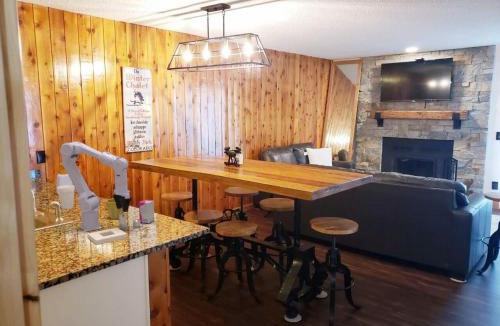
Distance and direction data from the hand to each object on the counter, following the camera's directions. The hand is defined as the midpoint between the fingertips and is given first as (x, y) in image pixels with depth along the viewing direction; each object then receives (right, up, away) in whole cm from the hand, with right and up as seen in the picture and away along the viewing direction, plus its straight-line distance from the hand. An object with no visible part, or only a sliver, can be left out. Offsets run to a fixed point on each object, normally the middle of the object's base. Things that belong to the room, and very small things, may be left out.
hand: (122, 210), depth 189 cm
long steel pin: (0, -10, +1) cm, 10 cm away
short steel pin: (+5, -9, +6) cm, 12 cm away
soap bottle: (-67, +2, +79) cm, 104 cm away
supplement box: (+8, -8, +14) cm, 18 cm away
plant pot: (-11, -7, +22) cm, 26 cm away
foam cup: (-47, -4, +41) cm, 63 cm away
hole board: (-3, -12, -11) cm, 16 cm away
